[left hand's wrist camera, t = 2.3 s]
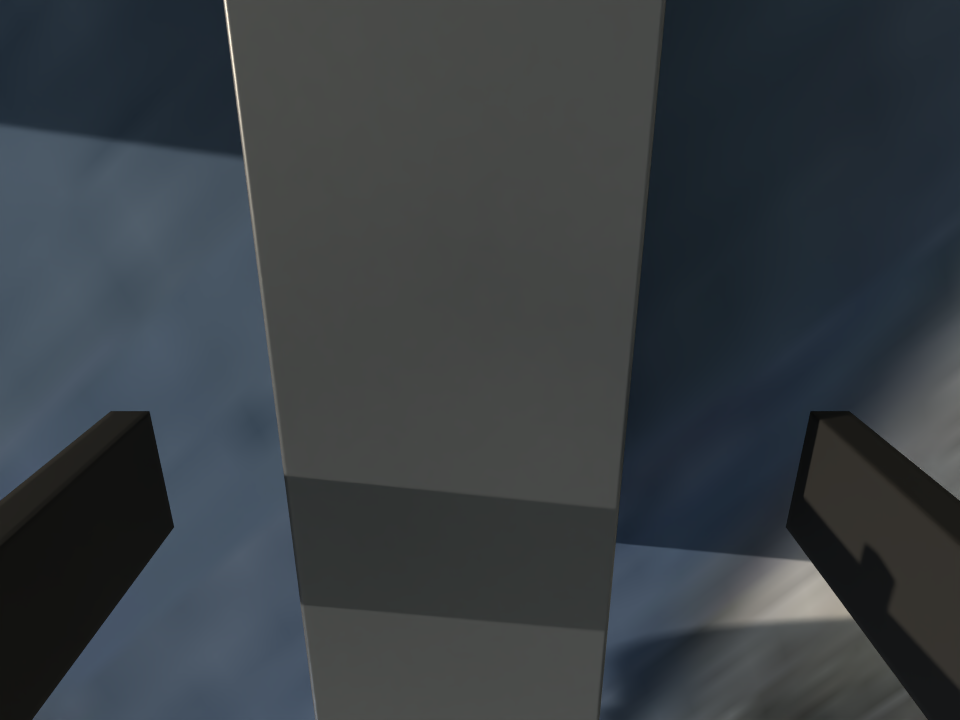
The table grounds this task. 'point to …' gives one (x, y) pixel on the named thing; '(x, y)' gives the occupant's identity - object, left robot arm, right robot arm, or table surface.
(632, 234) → the post
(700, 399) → the table surface
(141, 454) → the left robot arm
